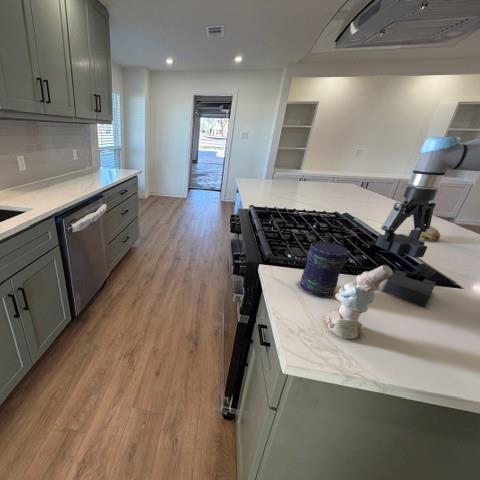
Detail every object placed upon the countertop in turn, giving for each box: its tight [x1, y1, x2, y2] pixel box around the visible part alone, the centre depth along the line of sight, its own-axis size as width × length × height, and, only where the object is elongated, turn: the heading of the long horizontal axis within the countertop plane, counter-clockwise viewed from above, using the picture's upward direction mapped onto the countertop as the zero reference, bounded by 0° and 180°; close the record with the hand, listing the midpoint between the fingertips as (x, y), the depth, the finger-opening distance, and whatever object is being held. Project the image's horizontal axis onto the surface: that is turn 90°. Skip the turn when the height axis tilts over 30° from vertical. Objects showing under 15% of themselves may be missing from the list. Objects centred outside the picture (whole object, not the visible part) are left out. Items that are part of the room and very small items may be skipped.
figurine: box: [325, 264, 394, 340], centre depth 62 cm, size 9×8×20 cm
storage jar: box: [299, 240, 349, 299], centre depth 80 cm, size 10×10×15 cm
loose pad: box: [374, 233, 428, 259], centre depth 90 cm, size 10×11×4 cm
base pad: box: [382, 269, 437, 308], centre depth 81 cm, size 10×12×4 cm
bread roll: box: [413, 225, 441, 243], centre depth 126 cm, size 10×10×8 cm
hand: (397, 247), depth 92 cm, fingers closed on loose pad, 10 cm apart
